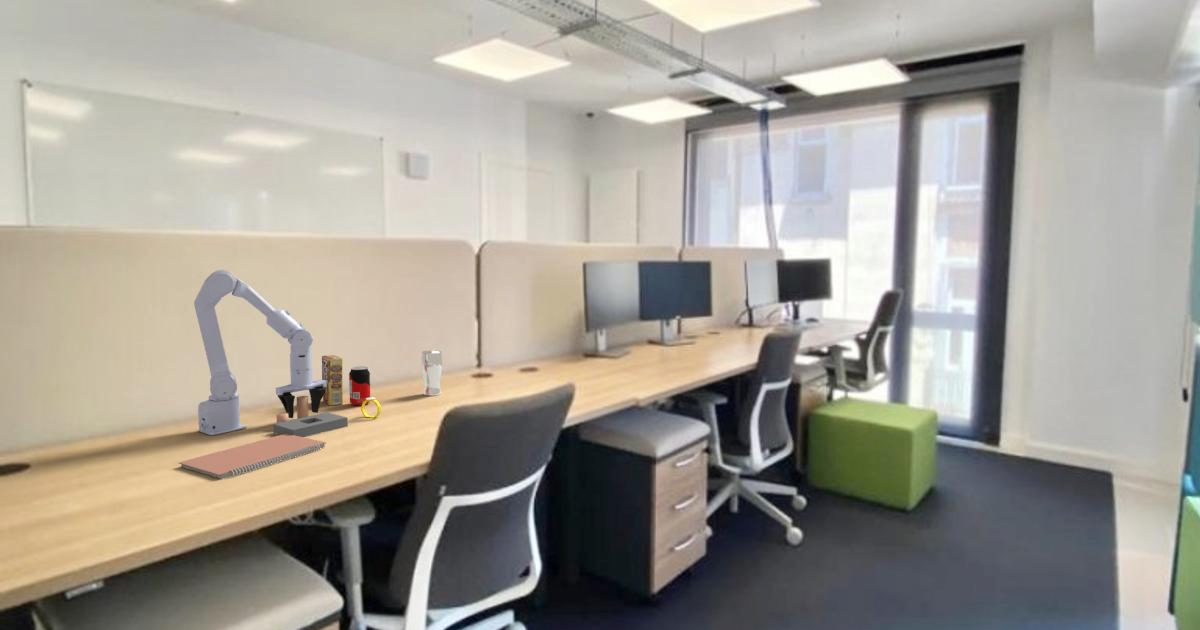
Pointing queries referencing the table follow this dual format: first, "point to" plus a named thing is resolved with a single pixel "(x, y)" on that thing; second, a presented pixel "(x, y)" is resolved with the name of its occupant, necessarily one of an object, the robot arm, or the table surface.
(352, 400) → the beverage can
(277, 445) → the notebook
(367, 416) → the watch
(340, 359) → the candy box
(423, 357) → the beer glass
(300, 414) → the long pin
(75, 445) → the table surface
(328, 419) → the hole board
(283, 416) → the short pin
